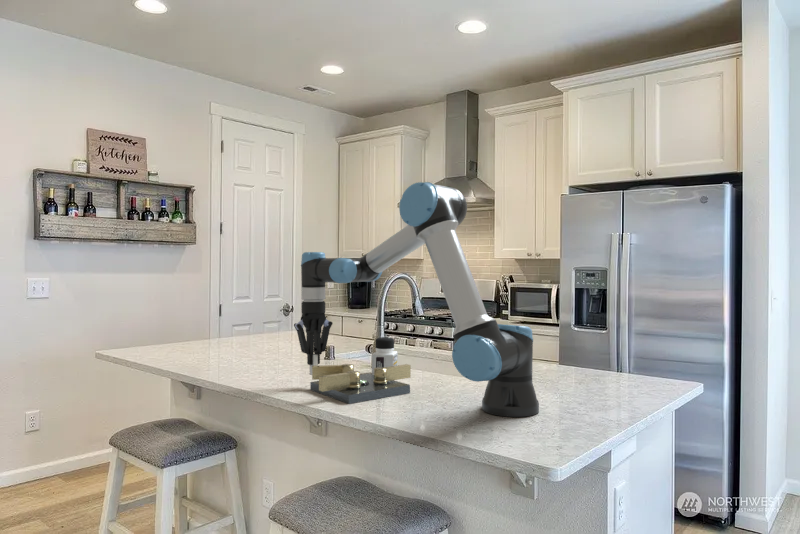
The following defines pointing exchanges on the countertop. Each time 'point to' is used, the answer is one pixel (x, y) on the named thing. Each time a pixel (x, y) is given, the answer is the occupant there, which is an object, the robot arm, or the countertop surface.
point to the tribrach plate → (364, 390)
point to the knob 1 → (339, 381)
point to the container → (384, 353)
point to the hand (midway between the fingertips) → (313, 374)
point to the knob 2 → (391, 373)
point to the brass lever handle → (330, 370)
